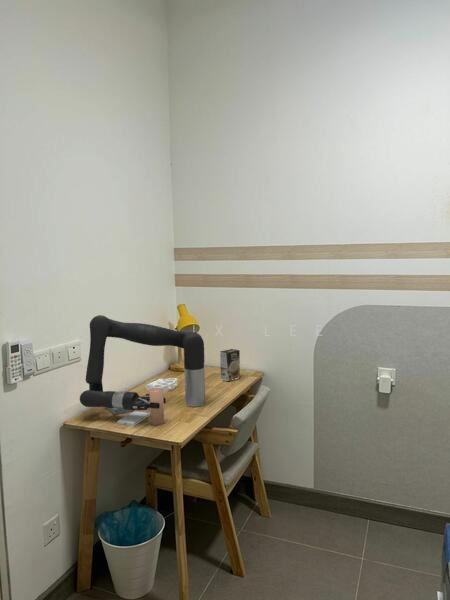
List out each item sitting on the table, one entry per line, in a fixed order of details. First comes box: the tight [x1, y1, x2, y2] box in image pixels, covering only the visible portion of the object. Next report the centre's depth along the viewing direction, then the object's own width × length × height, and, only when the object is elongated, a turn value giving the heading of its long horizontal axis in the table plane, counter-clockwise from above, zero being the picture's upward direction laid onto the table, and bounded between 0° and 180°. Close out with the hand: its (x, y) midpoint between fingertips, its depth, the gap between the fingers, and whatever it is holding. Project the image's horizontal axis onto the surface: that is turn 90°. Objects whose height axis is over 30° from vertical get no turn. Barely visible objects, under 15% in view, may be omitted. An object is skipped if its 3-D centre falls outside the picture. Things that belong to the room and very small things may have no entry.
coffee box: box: [219, 348, 241, 382], centre depth 245 cm, size 9×6×16 cm
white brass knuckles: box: [144, 377, 179, 393], centre depth 234 cm, size 3×18×15 cm
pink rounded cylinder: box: [148, 388, 165, 426], centre depth 186 cm, size 6×6×14 cm
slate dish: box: [104, 407, 136, 416], centre depth 203 cm, size 12×9×2 cm
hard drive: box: [116, 410, 151, 427], centre depth 191 cm, size 2×8×12 cm
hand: (162, 403), depth 185 cm, fingers closed on pink rounded cylinder, 5 cm apart
